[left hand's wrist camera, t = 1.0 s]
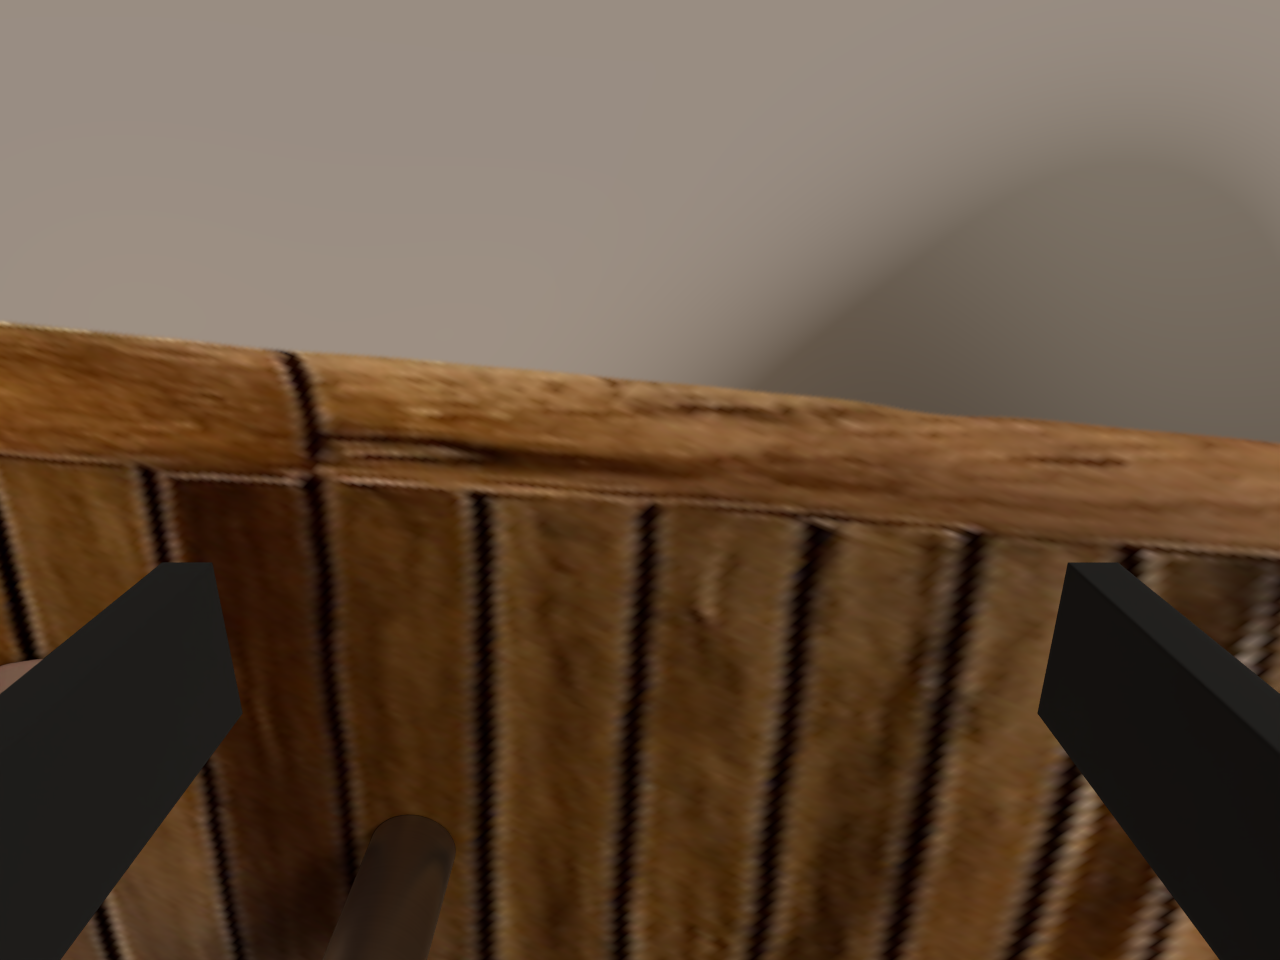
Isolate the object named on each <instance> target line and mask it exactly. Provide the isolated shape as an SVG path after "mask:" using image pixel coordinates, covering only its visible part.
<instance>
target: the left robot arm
mask: <svg viewBox="0 0 1280 960" xmlns="http://www.w3.org/2000/svg"><path fill="white" fill-rule="evenodd" d="M241 715H242V709H241V704H240V699H239V694H238V689H237V684H236V679H235V674H234V669H233V664H232V659H231V654H230V649H229V644H228V639H227V634H226V629H225V624H224V619H223V614H222V609H221V604H220V600H219V595H218V590H217V585H216V580H215V575H214V570H213V565H212V563H161V564H160V565H159V566H157V567H156V568H155V569H154V570H152V571H151V572H150V573H149V574H148V575H146V576H145V577H144V578H143V579H141V580H140V581H139V582H138V583H136V584H135V585H134V586H133V587H131V588H130V589H129V590H128V591H127V592H125V593H124V594H123V595H122V596H120V597H119V598H118V599H117V600H115V601H114V602H113V603H112V604H110V605H109V606H108V607H107V608H106V609H104V610H103V611H102V612H101V613H99V614H98V615H97V616H96V617H94V618H93V619H92V620H91V621H90V622H88V623H87V624H86V625H85V626H83V627H82V628H81V629H80V630H78V631H77V632H76V633H75V634H73V635H72V636H71V637H70V638H69V639H67V640H66V641H65V642H64V643H62V644H61V645H60V646H59V647H57V648H56V649H55V650H54V651H52V652H51V653H50V654H49V655H48V656H46V657H45V658H44V659H43V660H41V661H40V662H39V663H38V664H36V665H35V666H34V667H33V668H31V669H30V670H29V671H28V672H27V673H25V674H24V675H23V676H22V677H20V678H19V679H18V680H17V681H15V682H14V683H13V684H12V685H11V686H9V687H8V688H7V689H6V690H4V691H3V692H2V693H1V694H0V960H61V958H62V957H63V955H64V954H65V953H66V951H67V950H68V949H69V947H70V946H71V945H72V943H73V942H74V941H75V939H76V938H77V937H78V935H79V934H80V932H81V931H82V930H83V928H84V927H85V926H86V924H87V923H88V922H89V920H90V919H91V918H92V916H93V915H94V914H95V912H96V911H97V909H98V908H99V907H100V905H101V904H102V903H103V901H104V900H105V899H106V897H107V896H108V895H109V893H110V892H111V891H112V889H113V888H114V886H115V885H116V884H117V882H118V881H119V880H120V878H121V877H122V876H123V874H124V873H125V872H126V870H127V869H128V868H129V866H130V865H131V863H132V862H133V861H134V859H135V858H136V857H137V855H138V854H139V853H140V851H141V850H142V849H143V847H144V846H145V845H146V843H147V842H148V840H149V839H150V838H151V836H152V835H153V834H154V832H155V831H156V830H157V828H158V827H159V826H160V824H161V823H162V822H163V820H164V819H165V817H166V816H167V815H168V813H169V812H170V811H171V809H172V808H173V807H174V805H175V804H176V803H177V801H178V800H179V799H180V797H181V796H182V794H183V793H184V792H185V790H186V789H187V788H188V786H189V785H190V784H191V782H192V781H193V780H194V778H195V777H196V776H197V774H198V773H199V771H200V770H201V769H202V767H203V766H204V765H205V763H206V762H207V761H208V759H209V758H210V757H211V755H212V754H213V753H214V751H215V750H216V748H217V747H218V746H219V744H220V743H221V742H222V740H223V739H224V738H225V736H226V735H227V734H228V732H229V731H230V730H231V728H232V727H233V725H234V724H235V723H236V721H237V720H238V719H239V717H240V716H241ZM1038 715H1039V716H1040V717H1041V719H1042V720H1043V721H1044V723H1045V724H1046V725H1047V727H1048V728H1049V730H1050V731H1051V732H1052V734H1053V735H1054V736H1055V738H1056V739H1057V740H1058V742H1059V743H1060V744H1061V746H1062V747H1063V748H1064V750H1065V751H1066V753H1067V754H1068V755H1069V757H1070V758H1071V759H1072V761H1073V762H1074V763H1075V765H1076V766H1077V767H1078V769H1079V770H1080V771H1081V773H1082V774H1083V776H1084V777H1085V778H1086V780H1087V781H1088V782H1089V784H1090V785H1091V786H1092V788H1093V789H1094V790H1095V792H1096V793H1097V794H1098V796H1099V797H1100V799H1101V800H1102V801H1103V803H1104V804H1105V805H1106V807H1107V808H1108V809H1109V811H1110V812H1111V813H1112V815H1113V816H1114V817H1115V819H1116V820H1117V822H1118V823H1119V824H1120V826H1121V827H1122V828H1123V830H1124V831H1125V832H1126V834H1127V835H1128V836H1129V838H1130V839H1131V840H1132V842H1133V843H1134V845H1135V846H1136V847H1137V849H1138V850H1139V851H1140V853H1141V854H1142V855H1143V857H1144V858H1145V859H1146V861H1147V862H1148V863H1149V865H1150V866H1151V868H1152V869H1153V870H1154V872H1155V873H1156V874H1157V876H1158V877H1159V878H1160V880H1161V881H1162V882H1163V884H1164V885H1165V886H1166V888H1167V889H1168V891H1169V892H1170V893H1171V895H1172V896H1173V897H1174V899H1175V900H1176V901H1177V903H1178V904H1179V905H1180V907H1181V908H1182V909H1183V911H1184V912H1185V914H1186V915H1187V916H1188V918H1189V919H1190V920H1191V922H1192V923H1193V924H1194V926H1195V927H1196V928H1197V930H1198V931H1199V932H1200V934H1201V935H1202V937H1203V938H1204V939H1205V941H1206V942H1207V943H1208V945H1209V946H1210V947H1211V949H1212V950H1213V951H1214V953H1215V954H1216V955H1217V957H1218V958H1219V960H1280V694H1279V693H1278V692H1277V691H1276V690H1274V689H1273V688H1272V687H1271V686H1269V685H1268V684H1267V683H1266V682H1265V681H1263V680H1262V679H1261V678H1260V677H1258V676H1257V675H1256V674H1255V673H1253V672H1252V671H1251V670H1250V669H1249V668H1247V667H1246V666H1245V665H1244V664H1242V663H1241V662H1240V661H1239V660H1237V659H1236V658H1235V657H1234V656H1232V655H1231V654H1230V653H1229V652H1228V651H1226V650H1225V649H1224V648H1223V647H1221V646H1220V645H1219V644H1218V643H1216V642H1215V641H1214V640H1213V639H1211V638H1210V637H1209V636H1208V635H1207V634H1205V633H1204V632H1203V631H1202V630H1200V629H1199V628H1198V627H1197V626H1195V625H1194V624H1193V623H1192V622H1190V621H1189V620H1188V619H1187V618H1186V617H1184V616H1183V615H1182V614H1181V613H1179V612H1178V611H1177V610H1176V609H1174V608H1173V607H1172V606H1171V605H1170V604H1168V603H1167V602H1166V601H1165V600H1163V599H1162V598H1161V597H1160V596H1158V595H1157V594H1156V593H1155V592H1153V591H1152V590H1151V589H1150V588H1149V587H1147V586H1146V585H1145V584H1144V583H1142V582H1141V581H1140V580H1139V579H1137V578H1136V577H1135V576H1134V575H1132V574H1131V573H1130V572H1129V571H1128V570H1126V569H1125V568H1124V567H1123V566H1121V565H1120V564H1119V563H1068V565H1067V570H1066V575H1065V580H1064V585H1063V590H1062V595H1061V600H1060V604H1059V609H1058V614H1057V619H1056V624H1055V629H1054V634H1053V639H1052V644H1051V649H1050V654H1049V659H1048V664H1047V669H1046V674H1045V679H1044V684H1043V689H1042V694H1041V699H1040V704H1039V709H1038Z"/></svg>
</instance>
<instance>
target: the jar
mask: <svg viewBox="0 0 1280 960" xmlns="http://www.w3.org/2000/svg"><path fill="white" fill-rule="evenodd" d="M454 858H455V845H454V841H453V839H452V837H451V835H450V834H449V833H448V831H447V830H446V829H445V828H444V827H442V826H441V825H440V824H438V823H437V822H435V821H433V820H431V819H428V818H425V817H422V816H416V815H402V816H397V817H394V818H391V819H389V820H387V821H385V822H384V823H382V824H381V825H380V826H379V827H378V828H377V829H376V830H375V832H374V834H373V836H372V838H371V841H370V843H369V846H368V848H367V851H366V853H365V856H364V858H363V861H362V863H361V865H360V868H359V870H358V873H357V875H356V878H355V880H354V883H353V885H352V888H351V890H350V893H349V895H348V898H347V900H346V903H345V905H344V907H343V910H342V912H341V915H340V917H339V920H338V922H337V925H336V927H335V930H334V932H333V935H332V937H331V940H330V942H329V944H328V947H327V949H326V952H325V954H324V957H323V959H322V960H427V957H428V954H429V950H430V946H431V943H432V939H433V935H434V932H435V928H436V924H437V921H438V917H439V913H440V910H441V906H442V902H443V899H444V895H445V891H446V888H447V884H448V880H449V877H450V873H451V869H452V865H453V862H454Z"/></svg>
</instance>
